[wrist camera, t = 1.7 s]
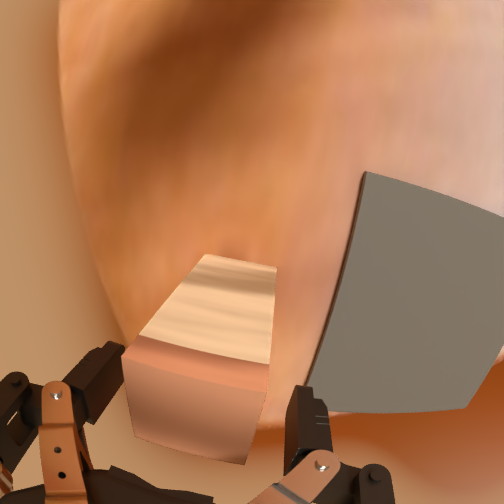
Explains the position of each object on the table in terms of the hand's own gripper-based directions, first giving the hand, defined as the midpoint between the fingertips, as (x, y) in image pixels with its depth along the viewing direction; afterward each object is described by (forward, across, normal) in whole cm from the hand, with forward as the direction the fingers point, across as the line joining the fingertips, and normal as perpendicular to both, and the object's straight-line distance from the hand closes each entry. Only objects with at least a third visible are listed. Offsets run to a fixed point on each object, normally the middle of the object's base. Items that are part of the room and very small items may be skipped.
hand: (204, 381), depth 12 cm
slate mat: (+9, -17, 0) cm, 19 cm away
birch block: (+9, 0, 0) cm, 9 cm away
